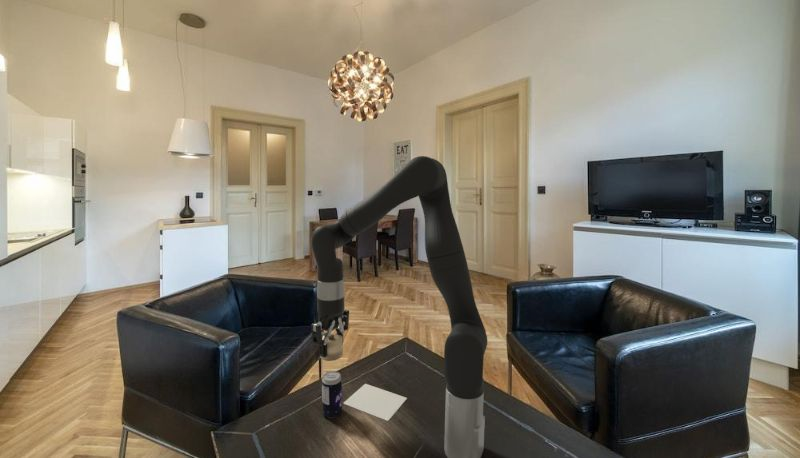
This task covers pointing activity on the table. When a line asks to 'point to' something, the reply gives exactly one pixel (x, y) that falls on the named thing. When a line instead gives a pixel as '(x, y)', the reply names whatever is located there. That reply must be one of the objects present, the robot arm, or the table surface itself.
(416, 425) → the table surface
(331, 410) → the beverage can
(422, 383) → the table surface
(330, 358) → the lid
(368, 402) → the mat
